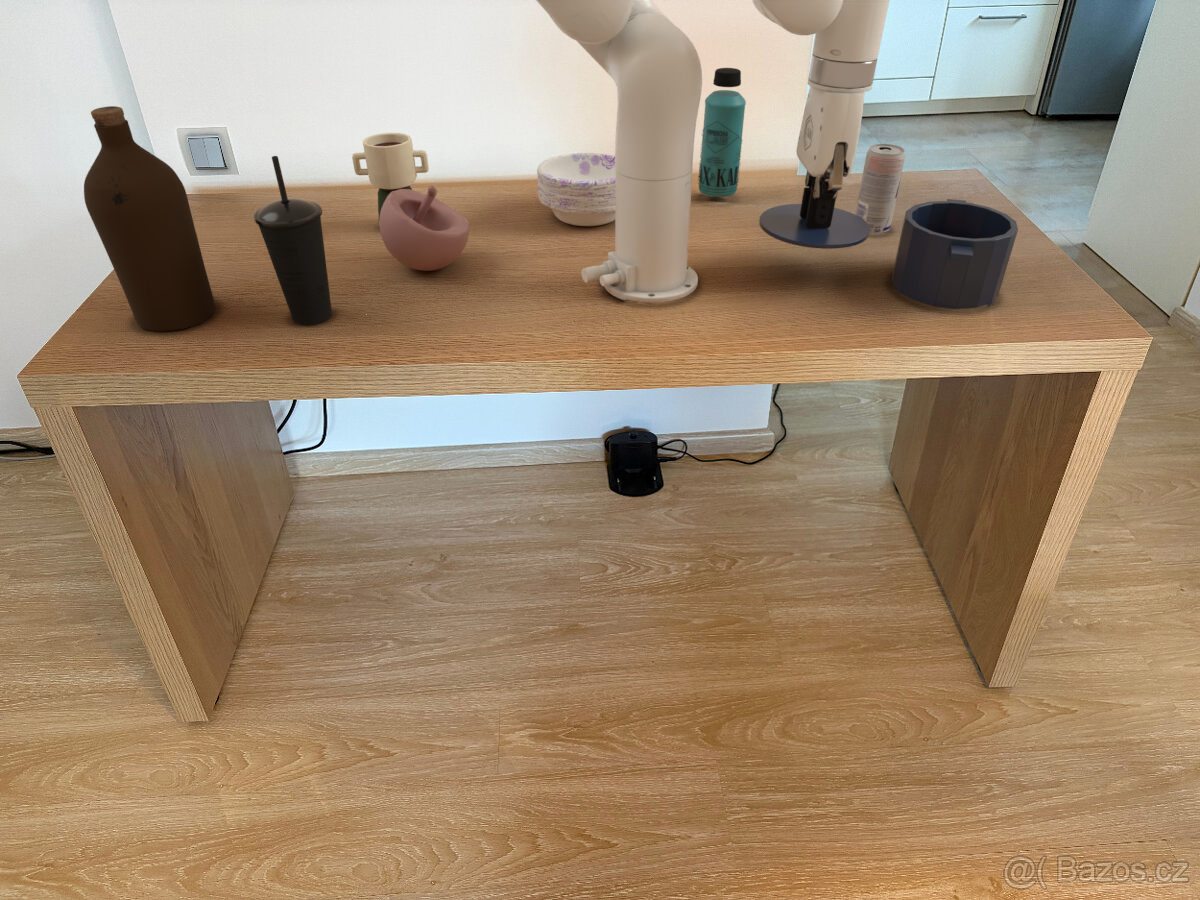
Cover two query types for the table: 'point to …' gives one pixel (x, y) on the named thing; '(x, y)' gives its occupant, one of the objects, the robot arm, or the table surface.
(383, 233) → the mortar and pestle
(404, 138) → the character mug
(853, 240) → the lid
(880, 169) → the energy drink
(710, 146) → the beverage bottle
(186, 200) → the olive oil
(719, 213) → the table surface
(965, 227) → the pot
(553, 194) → the paper bowls
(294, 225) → the drinking cup
